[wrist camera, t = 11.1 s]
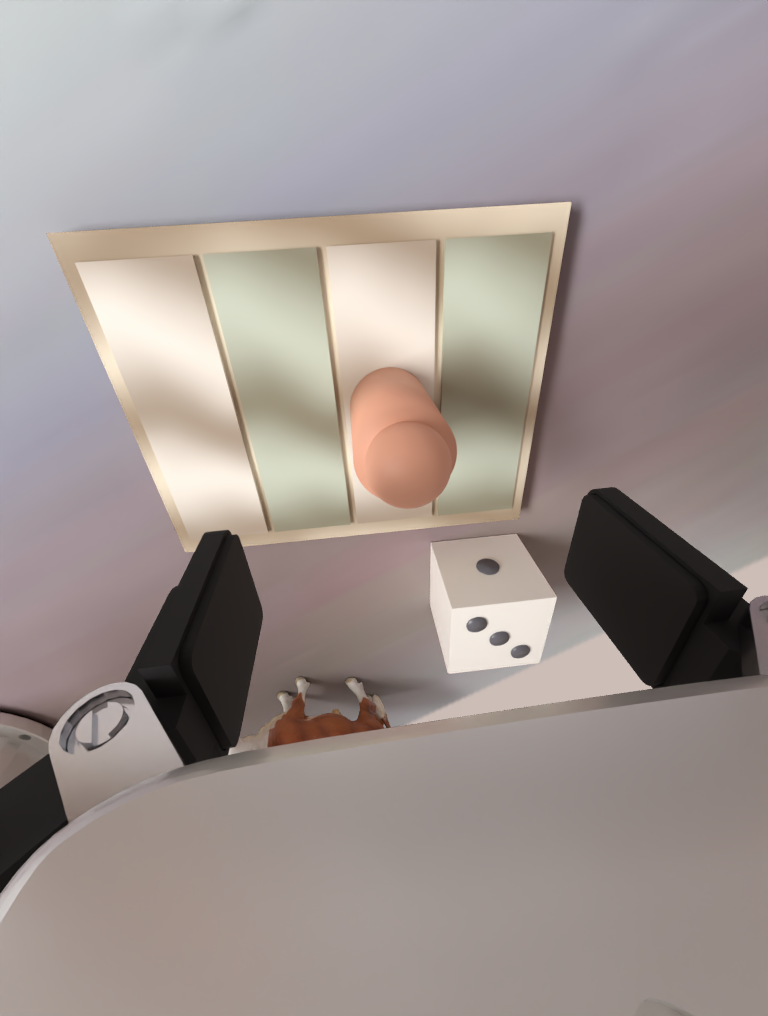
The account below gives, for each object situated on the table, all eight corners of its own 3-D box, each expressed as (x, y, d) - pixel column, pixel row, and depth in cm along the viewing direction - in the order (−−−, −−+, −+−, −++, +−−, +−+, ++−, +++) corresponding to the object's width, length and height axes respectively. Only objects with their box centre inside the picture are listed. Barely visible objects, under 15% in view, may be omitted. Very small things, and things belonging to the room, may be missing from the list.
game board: (512, 510, 25) (520, 520, 24) (190, 542, 24) (184, 554, 23) (560, 204, 17) (573, 201, 16) (61, 234, 16) (42, 232, 15)
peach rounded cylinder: (427, 440, 21) (469, 529, 14) (353, 447, 21) (360, 540, 14) (427, 364, 19) (478, 424, 12) (345, 370, 18) (349, 436, 12)
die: (507, 595, 30) (541, 664, 25) (429, 603, 30) (448, 675, 24) (517, 532, 27) (560, 597, 21) (430, 541, 26) (452, 608, 21)
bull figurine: (240, 664, 31) (212, 776, 25) (396, 678, 34) (410, 781, 28) (235, 694, 34) (209, 805, 27) (382, 706, 37) (392, 808, 30)
